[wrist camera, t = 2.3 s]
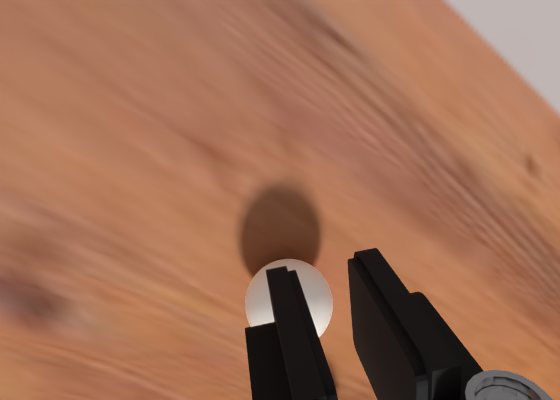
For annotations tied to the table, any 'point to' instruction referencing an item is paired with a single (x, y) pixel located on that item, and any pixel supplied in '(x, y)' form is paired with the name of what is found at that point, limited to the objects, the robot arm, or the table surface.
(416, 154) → the table surface
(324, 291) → the ivory ball
